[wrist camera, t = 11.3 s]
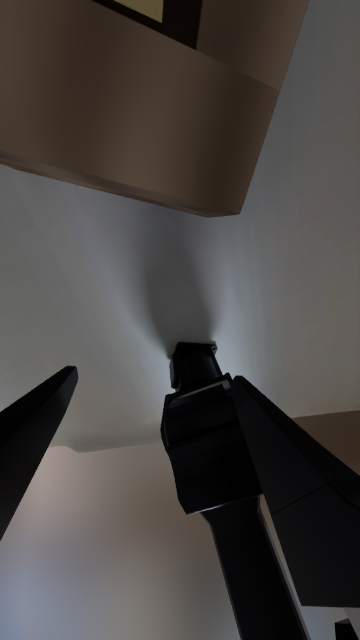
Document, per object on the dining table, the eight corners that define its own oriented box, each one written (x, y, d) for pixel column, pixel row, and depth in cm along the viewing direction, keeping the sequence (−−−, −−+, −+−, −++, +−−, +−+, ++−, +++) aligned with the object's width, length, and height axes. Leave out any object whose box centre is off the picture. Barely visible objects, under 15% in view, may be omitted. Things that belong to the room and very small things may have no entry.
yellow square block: (164, 37, 10) (170, -109, 5) (160, 100, 11) (161, 22, 7) (74, -4, 9) (-7, -225, 4) (80, 71, 10) (22, -44, 6)
